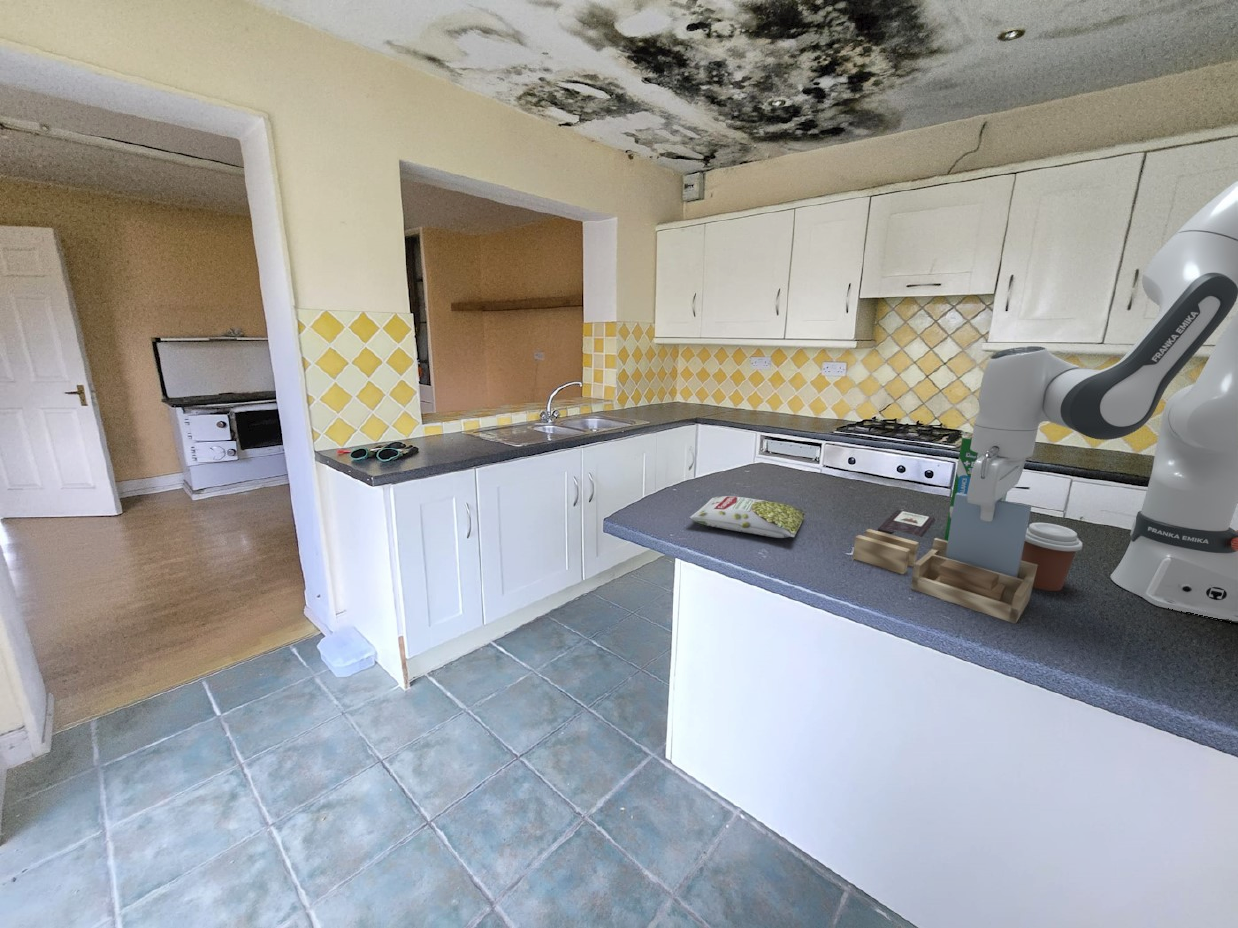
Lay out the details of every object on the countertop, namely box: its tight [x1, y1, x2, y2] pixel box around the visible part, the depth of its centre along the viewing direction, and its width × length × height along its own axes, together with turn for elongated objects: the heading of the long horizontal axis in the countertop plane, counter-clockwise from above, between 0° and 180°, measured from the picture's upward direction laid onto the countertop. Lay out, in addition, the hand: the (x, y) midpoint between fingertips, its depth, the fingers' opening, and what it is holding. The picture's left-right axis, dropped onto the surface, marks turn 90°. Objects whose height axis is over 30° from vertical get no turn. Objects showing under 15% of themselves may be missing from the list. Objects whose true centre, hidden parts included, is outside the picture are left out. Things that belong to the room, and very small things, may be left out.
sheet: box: [945, 493, 1032, 578], centre depth 93 cm, size 11×2×15 cm, turn 42°
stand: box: [851, 528, 920, 575], centre depth 106 cm, size 10×7×6 cm
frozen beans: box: [688, 495, 807, 539], centre depth 128 cm, size 21×6×25 cm
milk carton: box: [943, 437, 1008, 541], centre depth 115 cm, size 9×9×25 cm
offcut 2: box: [940, 575, 1006, 601], centre depth 91 cm, size 9×4×2 cm, turn 45°
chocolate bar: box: [877, 509, 936, 538], centre depth 129 cm, size 9×1×18 cm
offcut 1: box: [939, 559, 999, 591], centre depth 91 cm, size 8×4×2 cm, turn 40°
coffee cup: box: [1021, 522, 1084, 592], centre depth 96 cm, size 9×9×12 cm
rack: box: [909, 537, 1038, 625], centre depth 92 cm, size 16×11×8 cm
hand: (988, 517), depth 92 cm, fingers closed on sheet, 1 cm apart
